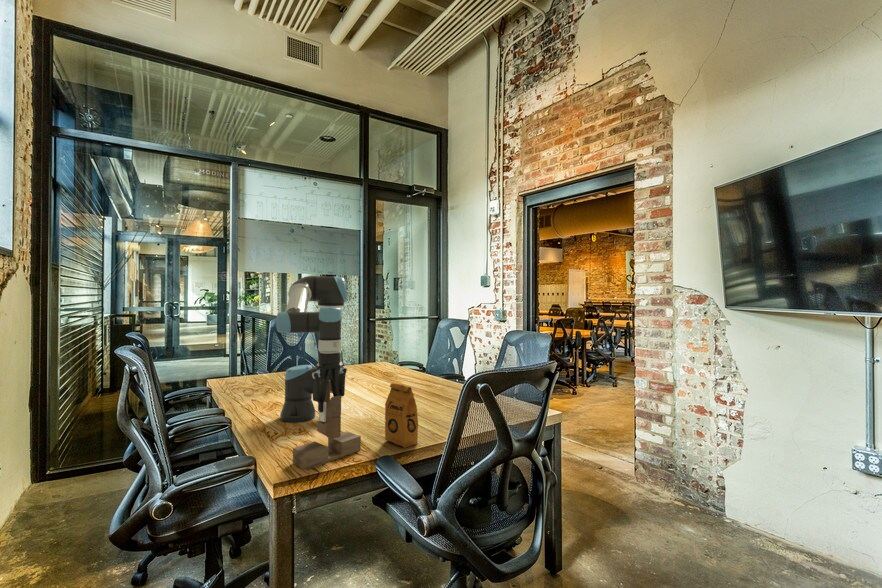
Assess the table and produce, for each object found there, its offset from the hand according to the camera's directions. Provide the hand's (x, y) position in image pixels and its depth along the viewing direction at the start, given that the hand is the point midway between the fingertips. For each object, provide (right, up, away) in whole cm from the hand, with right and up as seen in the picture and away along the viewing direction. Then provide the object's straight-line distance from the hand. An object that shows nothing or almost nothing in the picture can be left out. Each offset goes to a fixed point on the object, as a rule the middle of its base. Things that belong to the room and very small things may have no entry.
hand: (328, 419), depth 139 cm
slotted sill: (0, -13, 0) cm, 13 cm away
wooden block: (0, -5, 0) cm, 5 cm away
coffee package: (+24, -13, +14) cm, 31 cm away
